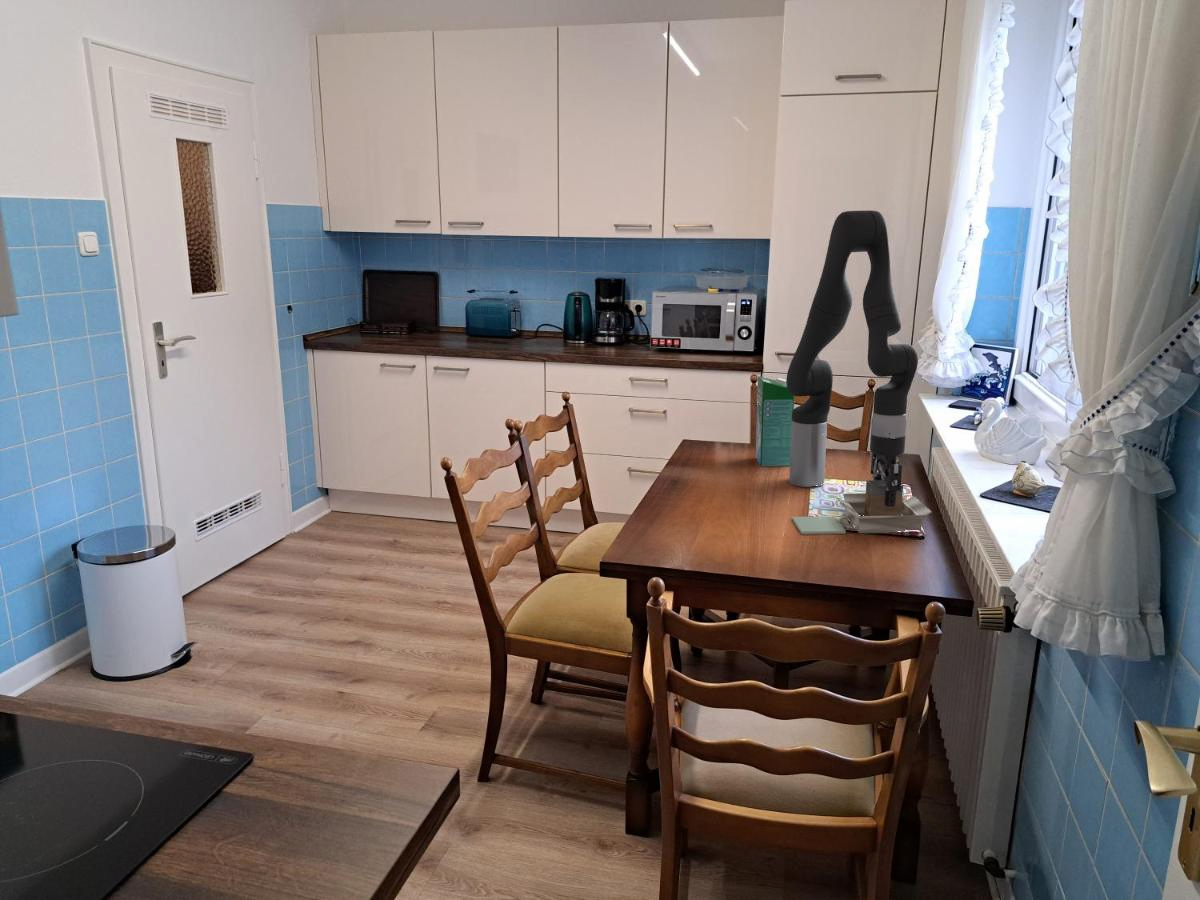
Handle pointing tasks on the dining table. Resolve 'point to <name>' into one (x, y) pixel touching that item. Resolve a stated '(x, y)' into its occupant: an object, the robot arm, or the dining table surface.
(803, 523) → the mat
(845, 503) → the carton
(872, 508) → the block
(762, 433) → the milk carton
